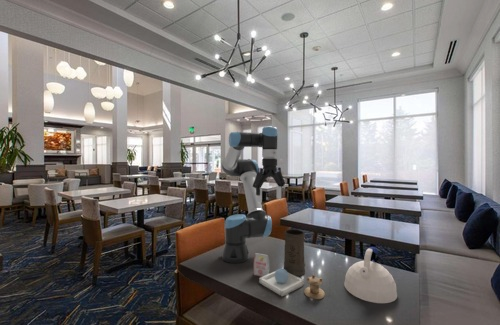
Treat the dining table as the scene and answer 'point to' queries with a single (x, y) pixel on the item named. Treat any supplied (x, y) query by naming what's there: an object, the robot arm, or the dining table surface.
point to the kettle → (370, 280)
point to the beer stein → (294, 252)
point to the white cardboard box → (261, 264)
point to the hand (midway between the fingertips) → (269, 200)
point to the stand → (314, 288)
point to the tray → (278, 287)
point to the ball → (281, 275)
